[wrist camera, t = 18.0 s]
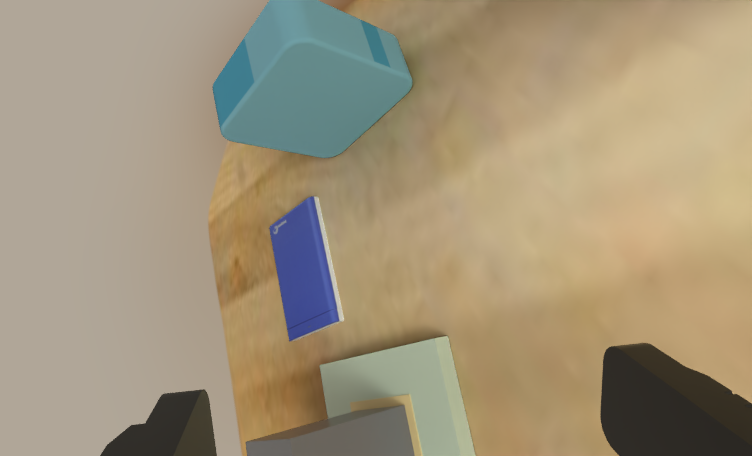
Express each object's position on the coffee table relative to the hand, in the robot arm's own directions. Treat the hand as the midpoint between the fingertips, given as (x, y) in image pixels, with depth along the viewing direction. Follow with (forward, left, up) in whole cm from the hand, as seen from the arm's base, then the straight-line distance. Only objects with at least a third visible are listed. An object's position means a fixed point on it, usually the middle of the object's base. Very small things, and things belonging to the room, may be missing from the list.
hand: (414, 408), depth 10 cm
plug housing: (+5, -23, -20) cm, 30 cm away
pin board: (+5, -23, -21) cm, 31 cm away
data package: (-23, -19, -21) cm, 37 cm away
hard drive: (-11, -32, -22) cm, 40 cm away
